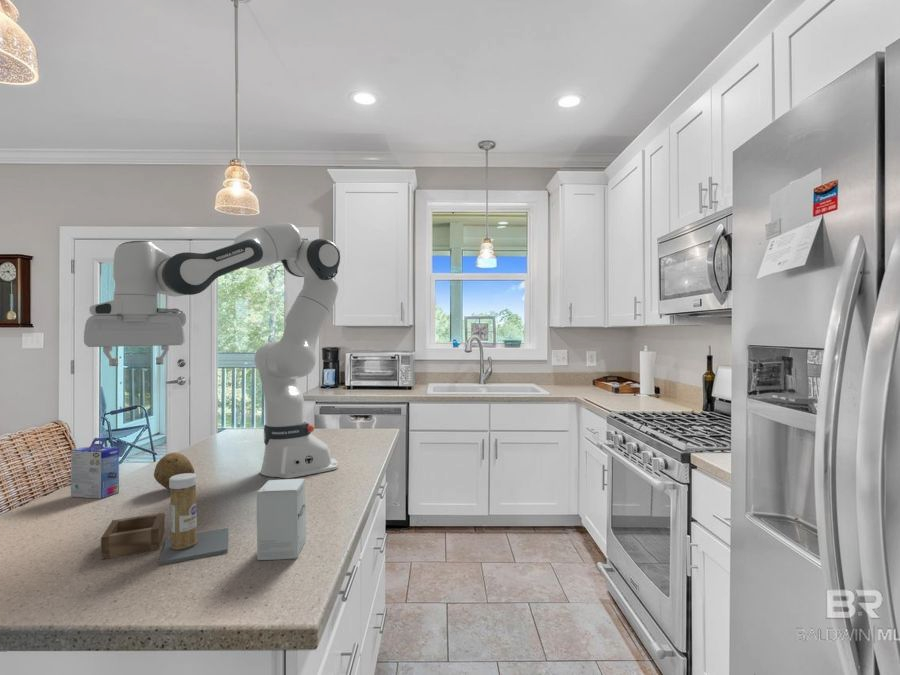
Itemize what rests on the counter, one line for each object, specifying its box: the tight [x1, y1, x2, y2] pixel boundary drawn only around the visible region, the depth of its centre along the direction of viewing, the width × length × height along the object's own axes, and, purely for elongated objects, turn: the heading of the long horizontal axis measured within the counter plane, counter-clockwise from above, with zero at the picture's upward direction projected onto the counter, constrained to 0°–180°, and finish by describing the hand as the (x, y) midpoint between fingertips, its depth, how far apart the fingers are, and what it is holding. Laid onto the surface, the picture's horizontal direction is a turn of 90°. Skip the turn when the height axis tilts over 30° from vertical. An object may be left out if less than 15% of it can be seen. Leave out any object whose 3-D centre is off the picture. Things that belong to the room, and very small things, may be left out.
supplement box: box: [256, 478, 307, 561], centre depth 89 cm, size 7×7×13 cm
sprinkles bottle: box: [169, 472, 198, 550], centre depth 90 cm, size 5×5×14 cm
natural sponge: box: [153, 452, 195, 491], centre depth 125 cm, size 9×9×10 cm
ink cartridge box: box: [70, 437, 120, 499], centre depth 122 cm, size 10×6×14 cm, turn 78°
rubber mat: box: [158, 527, 229, 566], centre depth 91 cm, size 11×11×1 cm
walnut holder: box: [100, 512, 166, 560], centre depth 92 cm, size 9×9×4 cm
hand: (137, 365), depth 113 cm, fingers open, 8 cm apart
